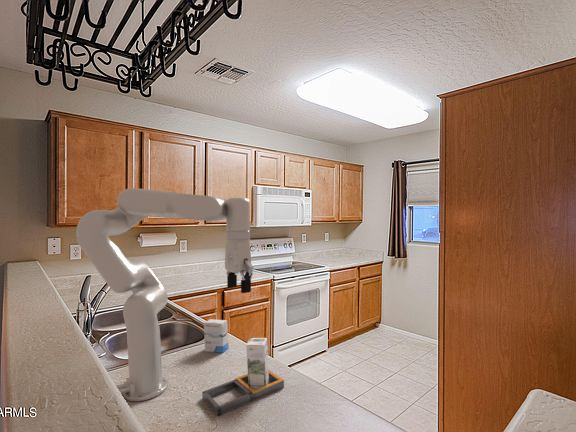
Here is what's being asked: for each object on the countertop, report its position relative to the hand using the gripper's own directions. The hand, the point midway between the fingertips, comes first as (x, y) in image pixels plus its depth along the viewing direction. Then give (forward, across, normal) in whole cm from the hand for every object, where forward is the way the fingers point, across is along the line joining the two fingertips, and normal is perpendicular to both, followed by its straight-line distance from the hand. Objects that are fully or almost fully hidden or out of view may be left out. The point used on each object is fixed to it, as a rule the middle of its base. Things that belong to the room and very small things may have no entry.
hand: (238, 289), depth 102 cm
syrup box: (+30, +5, +4) cm, 31 cm away
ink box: (+31, -31, +5) cm, 44 cm away
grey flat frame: (+30, +6, -1) cm, 31 cm away
